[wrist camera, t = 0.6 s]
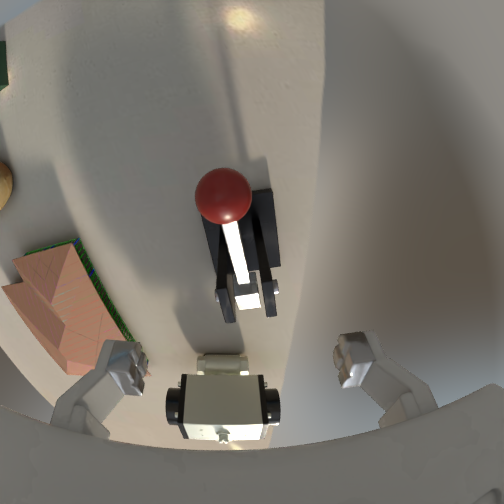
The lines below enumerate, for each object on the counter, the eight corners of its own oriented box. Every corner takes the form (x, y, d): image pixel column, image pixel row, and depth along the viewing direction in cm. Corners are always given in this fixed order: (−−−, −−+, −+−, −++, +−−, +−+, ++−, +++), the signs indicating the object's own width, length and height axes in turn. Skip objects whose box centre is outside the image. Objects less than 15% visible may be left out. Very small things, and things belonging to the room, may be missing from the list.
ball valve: (179, 369, 52) (171, 448, 37) (173, 344, 48) (161, 431, 33) (267, 370, 54) (277, 448, 39) (271, 344, 50) (285, 432, 35)
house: (77, 370, 53) (68, 397, 46) (-1, 257, 36) (-24, 282, 29) (158, 370, 52) (153, 403, 46) (81, 231, 35) (55, 263, 28)
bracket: (199, 200, 34) (183, 261, 23) (271, 188, 34) (293, 244, 22) (216, 271, 40) (213, 346, 28) (279, 261, 40) (298, 334, 28)
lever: (190, 162, 17) (186, 198, 15) (245, 152, 17) (251, 187, 15) (229, 285, 29) (232, 316, 27) (264, 280, 29) (268, 311, 27)
